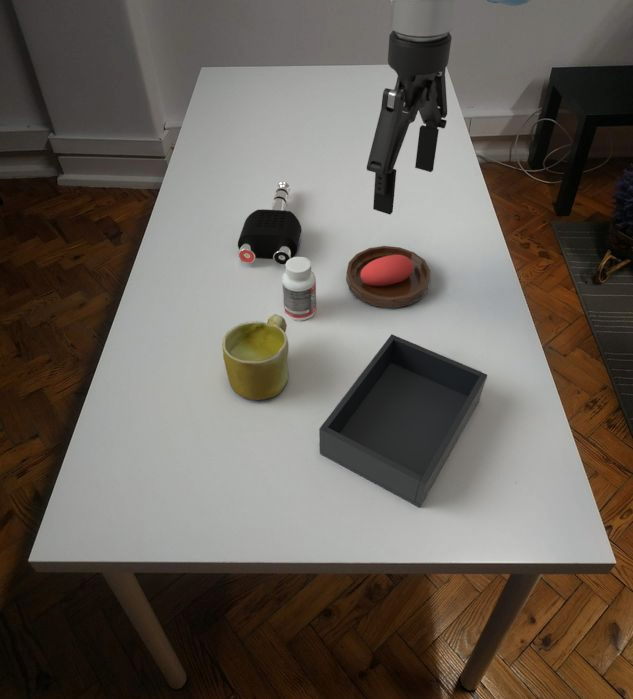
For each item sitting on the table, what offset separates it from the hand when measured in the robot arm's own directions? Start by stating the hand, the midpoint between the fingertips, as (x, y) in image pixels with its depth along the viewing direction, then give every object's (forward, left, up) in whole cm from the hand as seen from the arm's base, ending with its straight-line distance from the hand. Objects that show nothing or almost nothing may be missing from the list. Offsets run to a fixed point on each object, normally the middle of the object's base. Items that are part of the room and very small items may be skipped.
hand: (404, 189), depth 83 cm
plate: (+1, -1, -19) cm, 19 cm away
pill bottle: (+10, +13, -19) cm, 26 cm away
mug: (+7, +27, -19) cm, 34 cm away
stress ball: (+1, 0, -19) cm, 19 cm away
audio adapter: (+27, -4, -19) cm, 34 cm away
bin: (-15, +25, -19) cm, 35 cm away
